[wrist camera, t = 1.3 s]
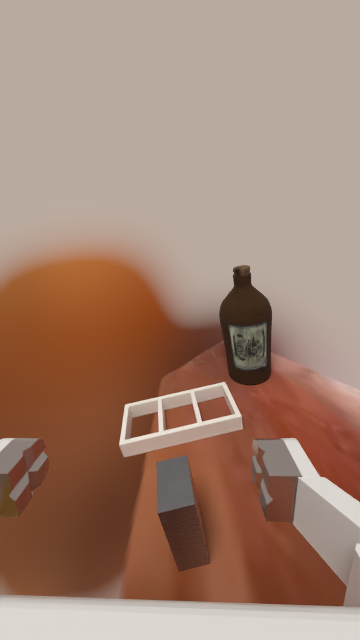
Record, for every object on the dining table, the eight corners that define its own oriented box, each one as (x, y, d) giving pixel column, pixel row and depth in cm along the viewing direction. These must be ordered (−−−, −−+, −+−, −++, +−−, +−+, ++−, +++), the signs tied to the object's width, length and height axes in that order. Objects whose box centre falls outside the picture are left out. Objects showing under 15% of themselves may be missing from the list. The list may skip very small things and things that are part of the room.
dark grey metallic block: (200, 512, 30) (186, 455, 26) (209, 563, 25) (194, 504, 21) (174, 518, 30) (156, 462, 26) (179, 571, 25) (157, 513, 21)
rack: (225, 392, 49) (224, 381, 48) (242, 429, 40) (241, 416, 39) (129, 414, 49) (125, 403, 47) (124, 457, 39) (119, 445, 38)
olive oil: (225, 361, 60) (213, 266, 50) (268, 358, 58) (264, 258, 48) (227, 388, 50) (213, 277, 41) (278, 386, 48) (276, 268, 39)
